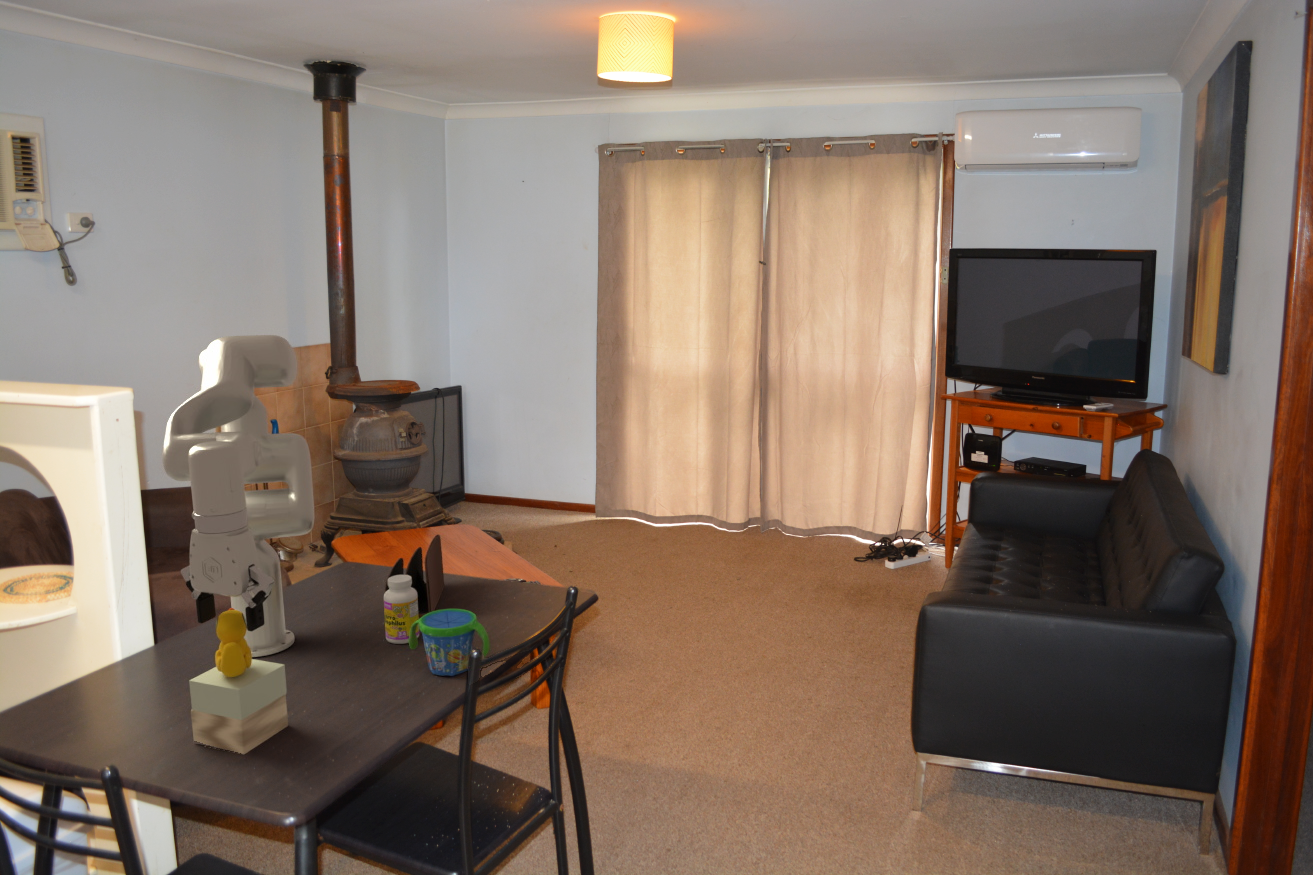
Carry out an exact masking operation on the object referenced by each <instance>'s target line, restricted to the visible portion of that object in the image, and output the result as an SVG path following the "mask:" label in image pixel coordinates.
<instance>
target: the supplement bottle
mask: <svg viewBox="0 0 1313 875" xmlns="http://www.w3.org/2000/svg"><path fill="white" fill-rule="evenodd" d="M387 578H388V577H387ZM411 584H412V578H411V576H409V575H405V574H404V575H395V576H392V577H390V578H388V586H389V590H387V591H386V592H385V591H384V594H383V608H384V611H383V613H384V630H385V631H384V632H385V639H386V641H387V642H388V643H391V644H395V645H397V644H398V645H401V644H402V645H405V644H409V633H410V629H411V626H412V625H413V623H414V622H416V621H417V620H418V619H420V618H419V616H418V596H417V591H416V590H415V589H414V588H412V587H411ZM415 633H416V636H417V639H419V637H420V627H419V624H417V627H416V632H415Z"/></svg>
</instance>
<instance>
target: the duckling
mask: <svg viewBox="0 0 1313 875" xmlns="http://www.w3.org/2000/svg"><path fill="white" fill-rule="evenodd" d="M246 631H247V622H246V618H245V616H244V615H243V613H242V612H240V611H238V610H234V608H232V607H230V608H229V609H228V610H225V611H223V612H222V613H220V614H219V615H218V617H217V618H216V621H215V632H216V636H217V637H218V640H219V641H220V643H219V646H218V650H216V651H215V653H214V654H215V655H214V657H215V659H214V661H215V667H217V669H218V671H220V672H222V673H223V674H224V675H225V676H227V677H236V676H239V675H241V674H243V673H244V671H245V670H246V668H249V667H250V666H251V663H252V659H253V657H252V654H251V649H250V647H249V646H248V644H247V642H246V640H245V639H244V636H245V634H246Z"/></svg>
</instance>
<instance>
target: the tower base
mask: <svg viewBox="0 0 1313 875" xmlns="http://www.w3.org/2000/svg"><path fill="white" fill-rule="evenodd" d="M286 694H287V693H286ZM286 694H285V695H283V696H281V697H280V698H278V699H276V700H275V701H273V702H271V703H270V704H268V705H266V706H265V707H263V708H261V709H259V710H258V711H256V712H254V713H253V714H251V715H249V716H248V717H246V718H244V719H243V720H238V719H234V718H229V717H224V716H219V715H214V714H209V713H204V712H199V711H194V710H192V709H191V710H190V717H191V727H192V735H193V736H192V737H193V742H194V741H197V742H200V743H203V744H206V745H210V746H214V747H218V748H222V749H226V750H230V751H234V752H233V753H235V752H238V753H237V754H240V753H241V754H240V755H245V754H247V753H249V752H250V751H251V750H252V751H253V749H254V748H257V747H258V746H259V745H261V744H262V743H265V741H267V740H268V739H270V738H272V737H273V736H274V735H276V734H278V733H279V732H281V731H282V730H284V729H286V728H287V727H288V726H289V719H288V707H287V697H286ZM230 751H229V752H230Z"/></svg>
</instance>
